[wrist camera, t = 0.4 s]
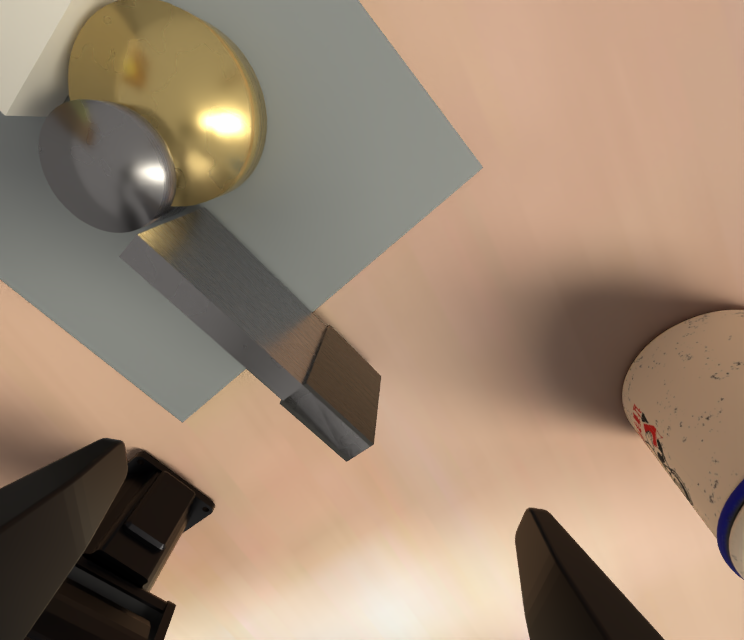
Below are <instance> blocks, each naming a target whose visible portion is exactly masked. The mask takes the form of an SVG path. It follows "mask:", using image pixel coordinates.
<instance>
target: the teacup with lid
mask: <svg viewBox="0 0 744 640" xmlns="http://www.w3.org/2000/svg"><path fill="white" fill-rule="evenodd" d="M622 401H623V407H624V411H625V414H626V416H627V418H628V420H629V422H630V423H631V425H632V426H633V427H634V429H635V430H636V431H637V433H638V434H639V435H640V437H641V438H642V439H643V441H644V442H645V443H646V445H647V446H648V447H649V449H650V450H651V452H652V453H653V454H654V456H655V457H656V458H657V460H658V461H659V462H660V464H661V465H662V466H663V468H664V469H665V470H666V472H667V473H668V474H669V476H670V477H671V478H672V480H673V481H674V482H675V484H676V485H677V486H678V488H679V489H680V490H681V492H682V493H683V494H684V496H685V497H686V498H687V500H688V501H689V502H690V504H691V505H692V506H693V508H694V509H695V510H696V512H697V513H698V514H699V516H700V517H701V518H702V520H703V521H704V522H705V524H706V525H707V526H708V528H709V529H710V530H711V532H712V533H713V535H714V536H715V537H716V539H717V543H718V547H719V550H720V553H721V555H722V557H723V558H724V560H725V562H726V563H727V564H728V566H729V567H730V568H731V569H732V570H733V571H734V572H735V573H736V574H737V575H738V576H739V577H741V578H742V579H743V580H744V310H722V311H716V312H711V313H706V314H703V315H699V316H696V317H693V318H691V319H688V320H685V321H683V322H681V323H679V324H677V325H675V326H673V327H671V328H670V329H668V330H666V331H665V332H663V333H662V334H660V335H659V336H658V337H656V338H655V339H654V340H653V341H651V342H650V343H649V344H648V345H647V346H646V347H645V348H644V349H643V350H642V351H641V352H640V354H639V355H638V356H637V357H636V359H635V360H634V362H633V363H632V365H631V367H630V369H629V370H628V373H627V375H626V377H625V381H624V384H623V390H622Z"/></svg>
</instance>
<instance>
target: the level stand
mask: <svg viewBox="0 0 744 640" xmlns="http://www.w3.org/2000/svg"><path fill="white" fill-rule="evenodd" d="M160 1H164V2H167V3H170V4H172V5H174V6H176V7H179V8H181V9H183V10H185V11H187V12H189V13H191V14H193V15H195V16H196V17H198V18H200V19H202V20H204V21H206V22H208V23H210V24H211V25H213V26H214V27H216V28H218V29H219V30H220V31H221V32H223V33H224V34H225V35H226V36H228V37H229V38H230V39H231V40H232V41H233V42H234V43H235V44H236V46H237V47H238V48H239V49H240V50H241V52H242V53H243V54H244V56H245V57H246V58H247V60H248V62H249V63H250V65H251V67H252V68H253V70H254V72H255V74H256V77H257V79H258V81H259V84H260V87H261V89H262V92H263V96H264V101H265V105H266V113H267V134H266V142H265V146H264V150H263V153H262V156H261V158H260V161H259V163H258V165H257V166H256V168H255V170H254V171H253V173H252V174H251V175H250V177H249V178H248V179H247V180H246V181H245V182H244V183H243V184H242V185H241V186H239V187H238V188H236V189H235V190H233V191H231V192H229V193H227V194H225V195H222V196H220V197H217V198H214V199H212V200H209V201H206V202H204V203H200V204H197V205H192V206H188V207H187V208H186V209H184V210H183V211H182V212H180V213H178V214H176V215H174V216H171V217H169V218H166V219H164V220H161V221H158V222H156V223H153V224H151V225H148V226H145V227H143V228H140V229H138V230H135V231H131V232H126V233H112V232H106V231H103V230H99V229H97V228H94V227H92V226H90V225H88V224H86V223H84V222H83V221H81V220H80V219H78V218H77V217H76V216H74V215H73V214H72V213H71V212H70V211H69V210H68V209H67V208H66V207H64V205H63V204H62V203H61V202H60V201H59V200H58V198H57V197H56V195H55V194H54V193H53V191H52V189H51V188H50V186H49V184H48V182H47V180H46V178H45V176H44V173H43V170H42V167H41V163H40V158H39V136H40V131H41V128H42V125H43V123H44V121H45V119H46V118H47V117H38V116H5V115H4V114H3V113H2V112H1V111H0V280H2V281H3V282H4V283H5V284H7V285H8V286H9V287H11V288H12V289H13V290H14V291H16V292H17V293H18V294H19V295H21V296H22V297H23V298H25V299H26V300H27V301H28V302H30V303H31V304H32V305H33V306H35V307H36V308H37V309H39V310H40V311H41V312H42V313H44V314H45V315H46V316H47V317H49V318H50V319H51V320H53V321H54V322H55V323H56V324H58V325H59V326H60V327H61V328H63V329H64V330H65V331H67V332H68V333H69V334H70V335H72V336H73V337H74V338H75V339H77V340H78V341H79V342H81V343H82V344H83V345H84V346H86V347H87V348H88V349H89V350H91V351H92V352H93V353H94V354H96V355H97V356H98V357H100V358H101V359H102V360H103V361H105V362H106V363H107V364H108V365H110V366H111V367H112V368H114V369H115V370H116V371H117V372H119V373H120V374H121V375H122V376H124V377H125V378H126V379H128V380H129V381H130V382H131V383H133V384H134V385H135V386H136V387H138V388H139V389H140V390H142V391H143V392H144V393H145V394H147V395H148V396H149V397H150V398H152V399H153V400H154V401H156V402H157V403H158V404H159V405H161V406H162V407H163V408H164V409H166V410H167V411H168V412H170V413H171V414H172V415H173V416H175V417H176V418H177V419H178V420H180V421H181V422H182V423H183V422H184V421H185V420H186V419H187V418H188V417H190V416H191V415H192V414H193V413H194V412H196V411H197V410H198V409H199V408H200V407H201V406H203V405H204V404H205V403H206V402H207V401H208V400H210V399H211V398H212V397H213V396H214V395H216V394H217V393H218V392H219V391H220V390H221V389H223V388H224V387H225V386H226V385H227V384H229V383H230V382H231V381H232V380H233V379H234V378H236V377H237V376H238V375H239V374H240V373H242V372H243V371H244V370H245V369H246V368H245V367H244V366H243V365H242V364H240V363H239V362H238V361H237V360H236V359H235V358H234V357H233V356H231V355H230V354H229V353H228V352H227V351H226V350H225V349H223V348H222V347H221V346H220V345H219V344H218V343H217V342H215V341H214V340H213V339H212V338H211V337H210V336H209V335H207V334H206V333H205V332H204V331H203V330H202V329H201V328H200V327H198V326H197V325H196V324H195V323H194V322H193V321H192V320H190V319H189V318H188V317H187V316H186V315H185V314H184V313H182V312H181V311H180V310H179V309H178V308H177V307H176V306H175V305H173V304H172V303H171V302H170V301H169V300H168V299H167V298H165V297H164V296H163V295H162V294H161V293H160V292H159V291H157V290H156V289H155V288H154V287H153V286H152V285H151V284H149V283H148V282H147V281H146V280H145V279H144V278H143V277H142V276H140V275H139V274H138V273H137V272H136V271H135V270H134V269H132V268H131V267H130V266H129V265H128V264H127V263H126V262H124V261H123V260H122V259H121V258H120V257H119V255H120V254H121V253H122V252H123V251H124V249H125V248H126V247H127V246H128V245H129V243H130V242H131V241H132V240H133V239H134V237H135V236H136V235H137V234H139V233H142V232H144V231H147V230H149V229H152V228H154V227H157V226H159V225H162V224H164V223H167V222H169V221H172V220H174V219H177V218H179V217H182V216H184V215H187V214H189V213H191V212H194V211H196V210H199V209H201V208H204V207H205V208H206V209H207V210H208V211H209V212H210V213H211V214H212V215H213V216H214V217H215V218H216V219H217V220H218V221H219V222H220V223H221V224H222V225H224V226H225V227H226V228H227V229H228V230H229V231H230V232H231V233H232V234H233V235H234V236H235V237H236V238H237V239H238V240H239V241H240V242H241V243H242V244H243V245H244V246H245V247H246V248H247V249H248V250H249V251H250V252H251V253H252V254H253V255H254V256H255V257H256V258H257V259H258V260H259V261H260V262H261V263H262V264H263V265H264V266H265V267H266V268H267V269H268V270H269V271H270V272H271V273H272V274H273V275H274V276H275V277H276V278H277V279H278V280H279V281H280V282H281V283H282V284H283V285H284V286H285V287H286V288H287V289H288V290H289V291H290V292H291V293H292V294H293V295H294V296H295V297H297V298H298V299H299V300H300V301H301V302H302V303H303V304H304V305H305V306H306V307H307V308H308V309H309V310H310V311H311V312H313V311H315V310H316V309H317V308H318V307H319V306H321V305H322V304H323V303H324V302H325V301H326V300H328V299H329V298H330V297H331V296H332V295H333V294H335V293H336V292H337V291H338V290H339V289H341V288H342V287H343V286H344V285H345V284H346V283H348V282H349V281H350V280H351V279H352V278H354V277H355V276H356V275H357V274H358V273H359V272H361V271H362V270H363V269H364V268H365V267H367V266H368V265H369V264H370V263H371V262H372V261H374V260H375V259H376V258H377V257H378V256H379V255H381V254H382V253H383V252H384V251H385V250H387V249H388V248H389V247H390V246H391V245H392V244H394V243H395V242H396V241H397V240H398V239H400V238H401V237H402V236H403V235H404V234H405V233H407V232H408V231H409V230H410V229H411V228H413V227H414V226H415V225H416V224H417V223H418V222H420V221H421V220H422V219H423V218H424V217H425V216H427V215H428V214H429V213H430V212H431V211H433V210H434V209H435V208H436V207H437V206H438V205H440V204H441V203H442V202H443V201H444V200H446V199H447V198H448V197H449V196H450V195H451V194H453V193H454V192H455V191H456V190H457V189H459V188H460V187H461V186H462V185H463V184H464V183H466V182H467V181H468V180H469V179H470V178H471V177H473V176H474V175H475V174H476V173H477V172H479V171H480V170H481V169H482V168H483V167H482V165H481V164H480V163H479V161H478V160H477V159H476V157H475V156H474V155H473V153H472V152H471V151H470V149H469V148H468V147H467V145H466V144H465V143H464V141H463V140H462V139H461V137H460V136H459V134H458V133H457V132H456V130H455V129H454V128H453V126H452V125H451V124H450V122H449V121H448V120H447V118H446V117H445V116H444V114H443V113H442V112H441V110H440V109H439V108H438V106H437V105H436V104H435V102H434V101H433V100H432V98H431V97H430V96H429V94H428V93H427V92H426V90H425V89H424V88H423V86H422V85H421V84H420V82H419V81H418V80H417V78H416V77H415V76H414V74H413V73H412V72H411V70H410V69H409V68H408V66H407V65H406V63H405V62H404V61H403V59H402V58H401V57H400V55H399V54H398V53H397V51H396V50H395V49H394V47H393V46H392V45H391V43H390V42H389V41H388V39H387V38H386V37H385V35H384V34H383V33H382V31H381V30H380V29H379V27H378V26H377V25H376V23H375V22H374V21H373V19H372V18H371V17H370V15H369V14H368V13H367V11H366V10H365V9H364V7H363V6H362V5H361V3H360V2H359V1H358V0H160ZM68 101H70V97H69V95H68V96H67V98H66V99H65V101H64V102H63V103H65V102H68Z"/></svg>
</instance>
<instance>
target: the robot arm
mask: <svg viewBox="0 0 744 640" xmlns="http://www.w3.org/2000/svg"><path fill="white" fill-rule="evenodd" d="M214 508H215V504H214V503H213V502H212V501H211V500H210V499H208V498H207V497H205V496H204V495H203V494H201V493H200V492H199V491H197V490H196V489H195V488H193V487H192V486H191V485H189V484H188V483H187V482H185V481H184V480H182V479H181V478H180V477H178V476H177V475H176V474H174V473H173V472H172V471H170V470H169V469H168V468H166V467H165V466H164V465H162V464H161V463H159V462H158V461H157V460H155V459H154V458H153V457H151V456H150V455H149V454H147V453H144V452H140V453H138V454H137V455H135V456H134V457H133V458H132V459H131V460H130V461H128V462H127V457H126V449H125V444H124V443H123V441H121V440H116V439H109V438H103V439H100V440H98V441H96V442H94V443H92V444H90V445H87V446H85V447H83V448H81V449H79V450H77V451H75V452H73V453H71V454H69V455H67V456H65V457H63V458H61V459H59V460H57V461H55V462H53V463H51V464H49V465H47V466H45V467H43V468H41V469H39V470H37V471H35V472H33V473H31V474H29V475H27V476H25V477H23V478H21V479H19V480H17V481H15V482H13V483H11V484H8V485H6V486H4V487H2V488H0V640H164V638H165V635H166V632H167V629H168V627H169V624H170V621H171V618H172V615H173V612H174V610H175V607H176V605H175V604H174V603H172V602H170V601H167V602H166V601H164V600H162V599H161V598H159V597H157V596H155V595H153V594H152V593H150V590H151V588H152V587H153V585H154V583H155V581H156V579H157V578H158V576H159V574H160V572H161V570H162V569H163V567H164V565H165V563H166V561H167V560H168V558H169V556H170V554H171V552H172V551H173V549H174V547H175V545H176V543H177V542H178V540H179V538H180V536H181V534H182V533H183V532H185V531H186V530H188V529H189V528H191V527H192V526H194V525H195V524H197V523H198V522H199V521H201V520H202V519H204V518H205V517H207V516H208V515H210V514H211V513H212V512H213V510H214ZM515 545H516V552H517V560H518V568H519V575H520V583H521V591H522V598H523V606H524V612H525V619H526V623H527V628H528V633H529V637H530V640H664V639H663V637H662V636H661V635H660V634H659V633H658V632H657V631H656V630H655V629H654V627H653V626H652V625H651V624H650V623H649V622H648V621H647V620H646V619H645V618H644V616H643V615H642V614H641V613H640V612H639V611H638V610H637V609H636V608H635V607H634V605H633V604H632V603H631V602H630V601H629V600H628V599H627V598H626V597H625V595H624V594H623V593H622V592H621V591H620V590H619V589H618V588H617V587H616V586H615V584H614V583H613V582H612V581H611V580H610V579H609V578H608V577H607V576H606V574H605V573H604V572H603V571H602V570H601V569H600V568H599V567H598V566H597V565H596V563H595V562H594V561H593V560H592V559H591V558H590V557H589V556H588V555H587V554H586V552H585V551H584V550H583V549H582V548H581V547H580V546H579V545H578V544H577V542H576V541H575V540H574V539H573V538H572V537H571V536H570V535H569V534H568V533H567V531H566V530H565V529H564V528H563V527H562V526H561V525H560V524H559V523H558V521H557V520H556V519H555V518H554V517H553V516H552V515H551V514H550V513H549V512H548V511H546V510H543V509H537V508H528V509H526V511H525V513H524V515H523V517H522V520H521V522H520V524H519V526H518V529H517V531H516V535H515Z"/></svg>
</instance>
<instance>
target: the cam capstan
mask: <svg viewBox="0 0 744 640" xmlns="http://www.w3.org/2000/svg"><path fill="white" fill-rule="evenodd" d="M68 89H69V97H70V101H68V102H65V103H63V104H61V105H59V106H58V107H56V108H55V109H54V110H53V111H52V112H50V114H49V115H48V116H47V118H46V119H45V121H44V123H43V125H42V128H41V131H40V136H39V158H40V163H41V167H42V170H43V173H44V176H45V178H46V180H47V182H48V184H49V186H50V188H51V189H52V191H53V193H54V194H55V195H56V197H57V198H58V200H59V201H60V202H61V203H62V204H63V205H64V207H66V208H67V209H68V210H69V211H70V212H71V213H72V214H73V215H74V216H76V217H77V218H78V219H80V220H81V221H83V222H84V223H86V224H88V225H90V226H92V227H94V228H97V229H99V230H103V231H106V232H112V233H126V232H131V231H135V230H138V229H140V228H143V227H145V226H148V225H151V224H153V223H156V222H158V221H161V220H164V219H166V218H169V217H171V216H174V215H176V214H178V213H180V212H182V211H183V210H184V209H186V208H187V207H188V206H192V205H197V204H200V203H204V202H206V201H209V200H212V199H214V198H217V197H220V196H222V195H225V194H227V193H229V192H231V191H233V190H235V189H236V188H238V187H239V186H241V185H242V184H243V183H244V182H245V181H246V180H247V179H248V178H249V177H250V175H251V174H252V173H253V171H254V170H255V168H256V166H257V165H258V163H259V161H260V158H261V156H262V153H263V150H264V146H265V142H266V134H267V113H266V105H265V101H264V96H263V92H262V89H261V87H260V84H259V81H258V79H257V77H256V74H255V72H254V70H253V68H252V67H251V65H250V63H249V62H248V60H247V58H246V57H245V56H244V54H243V53H242V52H241V50H240V49H239V48H238V47H237V46H236V44H235V43H234V42H233V41H232V40H231V39H230V38H229V37H228V36H226V35H225V34H224V33H223V32H221V31H220V30H219V29H218V28H216V27H214V26H213V25H211V24H210V23H208V22H206V21H204V20H202V19H200V18H198V17H196V16H195V15H193V14H191V13H189V12H187V11H185V10H183V9H181V8H179V7H176V6H174V5H172V4H170V3H167V2H164V1H160V0H118V1H115V2H113V3H110V4H108V5H106V6H104V7H103V8H101V9H100V10H98V11H97V12H96V13H95V14H94V15H92V16H91V17H90V18H89V19H88V20H87V22H86V23H85V24H84V26H83V27H82V29H81V30H80V32H79V34H78V36H77V38H76V40H75V42H74V45H73V48H72V51H71V55H70V61H69V67H68ZM119 257H120V258H121V259H122V260H123V261H124V262H126V263H127V264H128V265H129V266H130V267H131V268H132V269H134V270H135V271H136V272H137V273H138V274H139V275H140V276H142V277H143V278H144V279H145V280H146V281H147V282H148V283H149V284H151V285H152V286H153V287H154V288H155V289H156V290H157V291H159V292H160V293H161V294H162V295H163V296H164V297H165V298H167V299H168V300H169V301H170V302H171V303H172V304H173V305H175V306H176V307H177V308H178V309H179V310H180V311H181V312H182V313H184V314H185V315H186V316H187V317H188V318H189V319H190V320H192V321H193V322H194V323H195V324H196V325H197V326H198V327H200V328H201V329H202V330H203V331H204V332H205V333H206V334H207V335H209V336H210V337H211V338H212V339H213V340H214V341H215V342H217V343H218V344H219V345H220V346H221V347H222V348H223V349H225V350H226V351H227V352H228V353H229V354H230V355H231V356H233V357H234V358H235V359H236V360H237V361H238V362H239V363H240V364H242V365H243V366H244V367H245V368H246V369H247V370H248V371H250V372H251V373H252V374H253V375H254V376H255V377H256V378H258V379H259V380H260V381H261V382H262V383H263V384H264V385H266V386H267V387H268V388H269V389H270V390H271V391H272V392H273V393H275V394H276V395H277V396H278V397H279V398H280V399H281V401H280V404H281V405H282V406H283V407H284V408H286V409H287V410H288V411H289V412H290V413H291V414H292V415H294V416H295V417H296V418H297V419H298V420H299V421H300V422H302V423H303V424H304V425H305V426H306V427H307V428H308V429H310V430H311V431H312V432H313V433H314V434H315V435H316V436H318V437H319V438H320V439H321V440H322V441H323V442H324V443H326V444H327V445H328V446H329V447H330V448H331V449H333V450H334V451H335V452H336V453H337V454H338V455H339V456H341V457H342V458H343V459H344V460H345V461H346V462H347V461H349V460H350V459H352V458H353V457H355V456H356V455H358V454H359V453H361V452H363V451H364V450H366V449H367V448H369V447H370V446H372V445H374V438H375V428H376V419H377V410H378V400H379V391H380V382H381V376H380V375H379V374H378V373H377V372H376V371H375V370H374V369H373V368H372V367H371V366H370V365H369V364H368V363H367V362H366V361H365V360H364V359H363V358H362V357H361V356H360V355H359V354H358V353H357V352H356V351H355V350H354V349H353V348H352V347H351V346H350V345H349V344H348V343H347V342H346V341H345V340H344V339H343V338H342V337H341V336H340V335H339V334H338V333H337V332H336V331H335V330H334V329H333V328H332V327H331V326H330V325H329V326H327V327H326V326H325V325H324V324H323V323H322V322H321V321H320V320H319V319H318V318H317V317H316V316H315V315H314V314H313V313H312V312H311V311H310V310H309V309H308V308H307V307H306V306H305V305H304V304H303V303H302V302H301V301H300V300H299V299H298V298H297V297H295V296H294V295H293V294H292V293H291V292H290V291H289V290H288V289H287V288H286V287H285V286H284V285H283V284H282V283H281V282H280V281H279V280H278V279H277V278H276V277H275V276H274V275H273V274H272V273H271V272H270V271H269V270H268V269H267V268H266V267H265V266H264V265H263V264H262V263H261V262H260V261H259V260H258V259H257V258H256V257H255V256H254V255H253V254H252V253H251V252H250V251H249V250H248V249H247V248H246V247H245V246H244V245H243V244H242V243H241V242H240V241H239V240H238V239H237V238H236V237H235V236H234V235H233V234H232V233H231V232H230V231H229V230H228V229H227V228H226V227H225V226H224V225H222V224H221V223H220V222H219V221H218V220H217V219H216V218H215V217H214V216H213V215H212V214H211V213H210V212H209V211H208V210H207V209H206V208H205V207H204V208H201V209H199V210H196V211H194V212H191V213H189V214H187V215H184V216H182V217H179V218H177V219H174V220H172V221H169V222H167V223H164V224H162V225H159V226H157V227H154V228H152V229H149V230H147V231H144V232H142V233H139V234H137V235H136V236H135V237H134V239H133V240H132V241H131V242H130V243H129V245H128V246H127V247H126V248H125V249H124V251H123V252H122V253H121V254H120V255H119Z"/></svg>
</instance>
